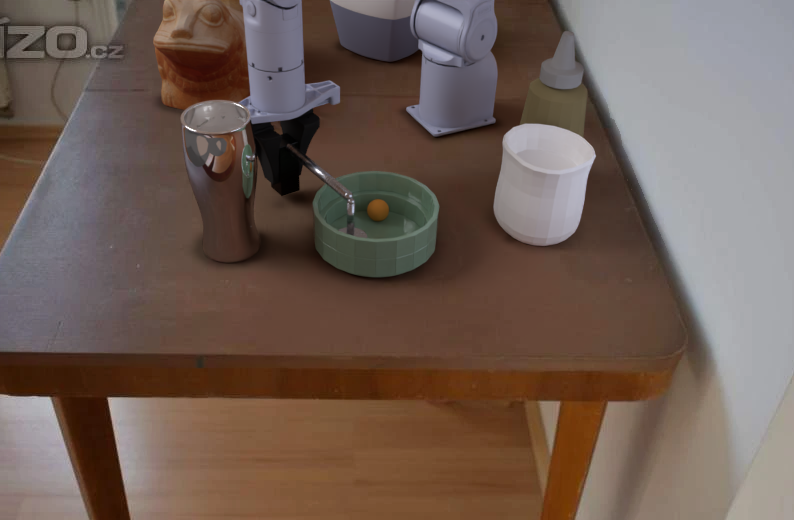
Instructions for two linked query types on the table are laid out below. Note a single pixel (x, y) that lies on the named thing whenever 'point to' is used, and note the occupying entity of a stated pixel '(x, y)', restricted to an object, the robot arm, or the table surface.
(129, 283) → the table surface
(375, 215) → the orange ball
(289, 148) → the ladle
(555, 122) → the squeeze bottle
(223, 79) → the frog figurine
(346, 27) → the grey and white container
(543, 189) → the cup
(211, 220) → the beer glass
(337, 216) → the soup bowl
